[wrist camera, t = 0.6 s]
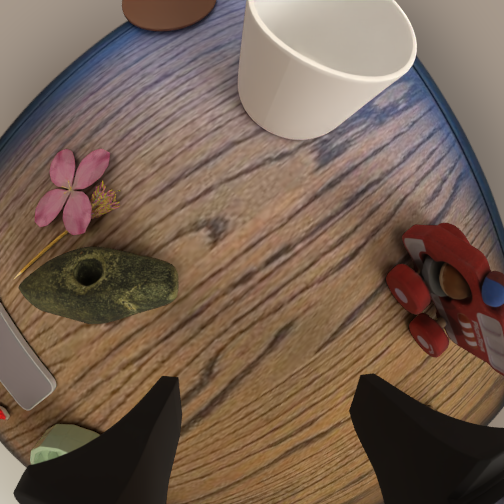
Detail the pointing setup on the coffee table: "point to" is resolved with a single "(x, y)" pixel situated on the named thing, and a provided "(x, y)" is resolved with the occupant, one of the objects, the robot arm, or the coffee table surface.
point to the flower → (71, 190)
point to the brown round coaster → (166, 13)
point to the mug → (319, 61)
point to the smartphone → (21, 367)
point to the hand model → (4, 413)
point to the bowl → (60, 441)
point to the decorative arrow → (96, 209)
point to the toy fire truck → (451, 293)
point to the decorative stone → (100, 285)
